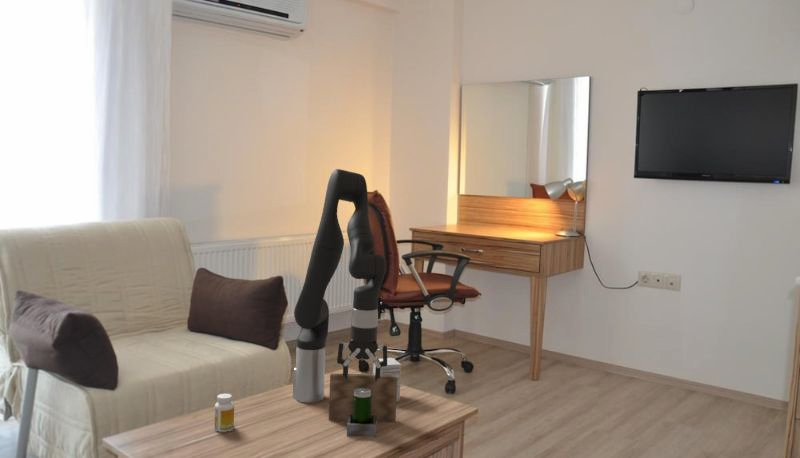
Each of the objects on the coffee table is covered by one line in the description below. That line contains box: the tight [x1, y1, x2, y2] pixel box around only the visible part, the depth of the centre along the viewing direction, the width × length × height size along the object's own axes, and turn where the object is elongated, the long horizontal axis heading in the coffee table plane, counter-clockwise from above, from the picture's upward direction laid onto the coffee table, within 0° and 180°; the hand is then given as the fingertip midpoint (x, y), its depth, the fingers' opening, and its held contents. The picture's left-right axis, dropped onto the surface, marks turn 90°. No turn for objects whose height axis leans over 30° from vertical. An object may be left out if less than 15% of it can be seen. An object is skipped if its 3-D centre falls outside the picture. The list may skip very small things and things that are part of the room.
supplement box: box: [372, 357, 402, 402], centre depth 225 cm, size 7×7×13 cm
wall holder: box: [328, 372, 398, 438], centre depth 200 cm, size 20×13×14 cm, turn 92°
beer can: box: [352, 388, 372, 424], centre depth 198 cm, size 5×5×12 cm
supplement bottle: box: [213, 393, 235, 433], centre depth 196 cm, size 5×5×10 cm
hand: (361, 378), depth 197 cm, fingers open, 8 cm apart
